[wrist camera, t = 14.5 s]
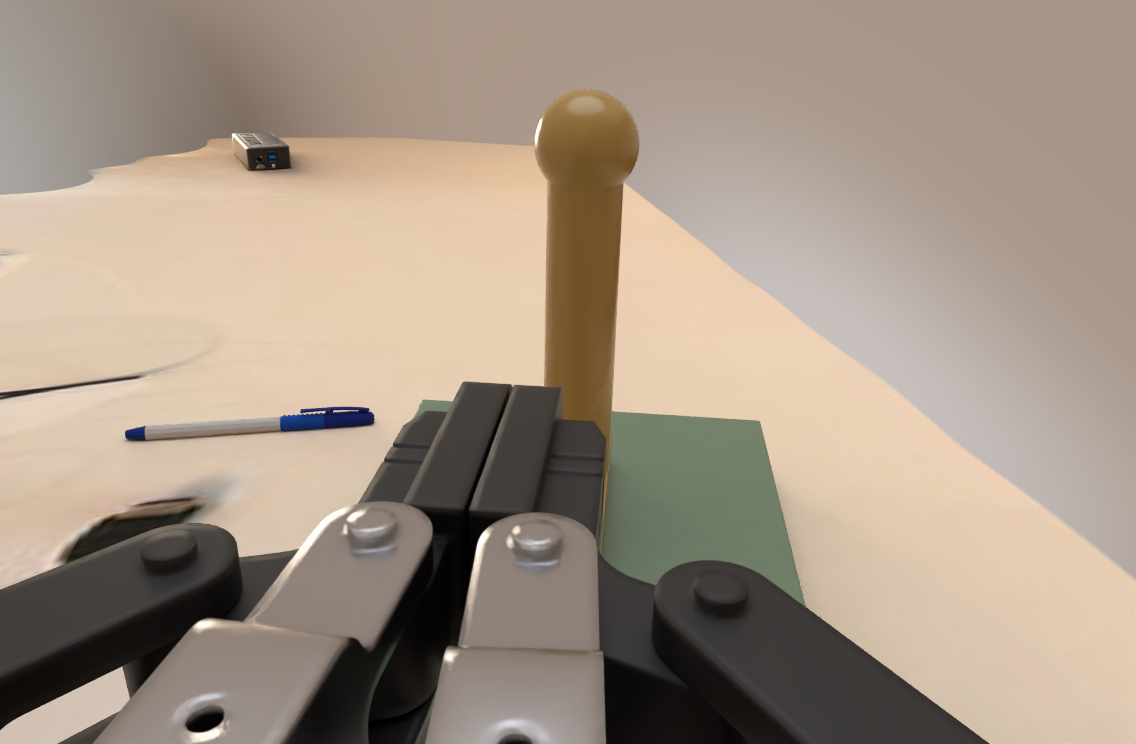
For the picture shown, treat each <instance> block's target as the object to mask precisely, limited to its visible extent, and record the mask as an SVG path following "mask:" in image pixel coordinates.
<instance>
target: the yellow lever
mask: <svg viewBox="0 0 1136 744" xmlns="http://www.w3.org/2000/svg"><path fill="white" fill-rule="evenodd" d="M534 138H535V139H534V151H535V156H536V160H537V163H538V165H539V168H540V170H541V172H542V173H543V175H544V176H545V178H546V179H547V180H548V182H547V245H546V308H545V371H544V387H559V388H562V389H563V419H565V420H581V421H594V422H595V423H596V425H597V426H598V427H599V429H600V430H601V432H602V433H603V435H604V436H605V437H606V459H605V480H604V502H603V523H602V534H601V544H600V554H601V555H602V548H603V538H604V527H605V516H606V506H607V495H608V484H609V474H610V463H611V447H612V431H611V415H612V395H613V376H614V356H615V336H616V316H617V297H618V277H619V257H620V238H621V218H622V198H623V182H624V181H625V180H626V179H627V177H628V176H629V175H630V173H631V172H632V170H633V168H634V166H635V163H636V161H637V157H638V152H639V135H638V130H637V126H636V123H635V121H634V119H633V117H632V115H631V113H630V112H629V111H628V109H627V108H626V107H625V106H624V105H623V104H622V103H621V102H620V101H619V100H617V99H616V98H615V97H613V96H611V95H609V94H607V93H604V92H602V91H597V90H592V89H583V90H577V91H572V92H569V93H567V94H565V95H562V96H561V97H559V98H558V99H556V100H555V101H554V102H553V103H552V104H550V105H549V107H548V108H547V109H546V110H545V112H544V113H543V115H542V116H541V118H540V120H539V122H538V125H537V128H536V132H535V137H534Z"/></svg>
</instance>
